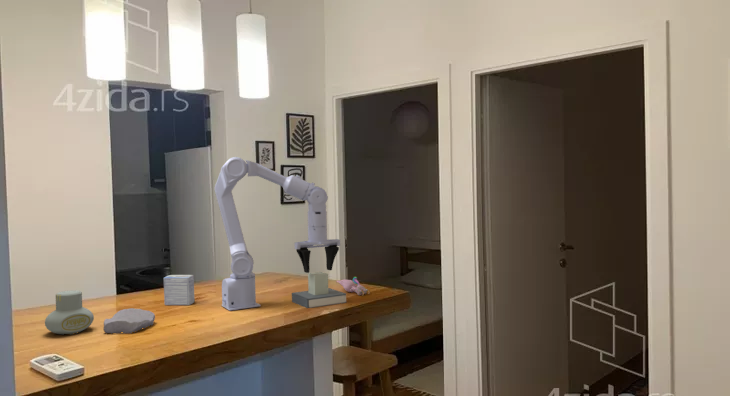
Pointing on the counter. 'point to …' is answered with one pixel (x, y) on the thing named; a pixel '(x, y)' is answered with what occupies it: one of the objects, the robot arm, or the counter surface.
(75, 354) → the counter surface
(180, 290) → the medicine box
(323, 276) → the sage block
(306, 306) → the book
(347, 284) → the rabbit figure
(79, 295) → the air freshener
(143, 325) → the stone block
